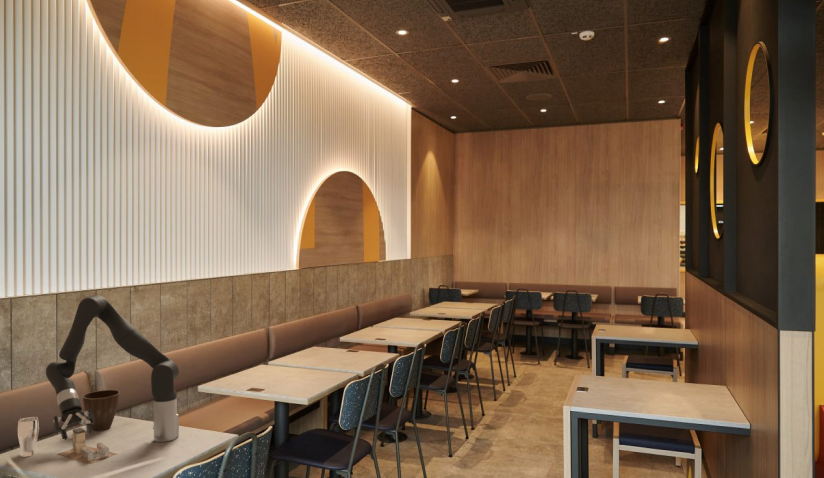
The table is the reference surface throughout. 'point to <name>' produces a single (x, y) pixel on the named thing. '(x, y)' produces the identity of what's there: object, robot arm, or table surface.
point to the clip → (95, 453)
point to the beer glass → (28, 435)
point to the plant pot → (102, 407)
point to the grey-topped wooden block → (78, 440)
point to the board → (78, 457)
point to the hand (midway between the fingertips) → (78, 436)
